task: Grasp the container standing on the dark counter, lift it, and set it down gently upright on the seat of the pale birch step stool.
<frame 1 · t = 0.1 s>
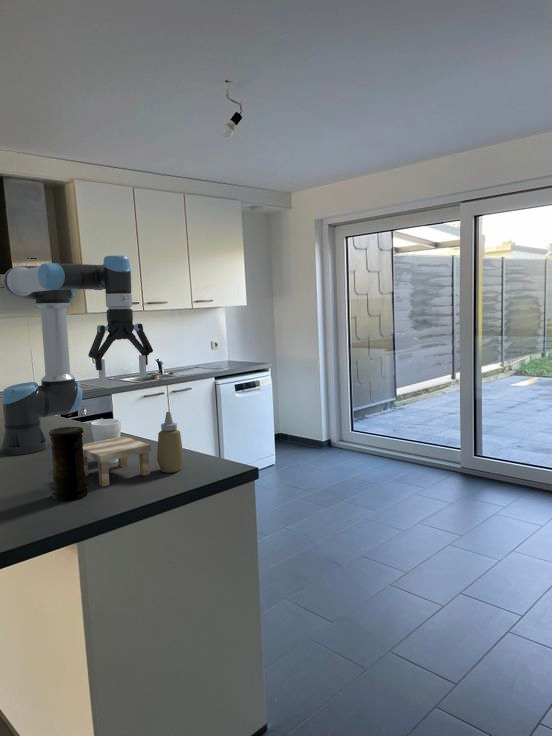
hand: (123, 378, 167), 28 cm above the countertop, fingers open, 13 cm apart
container: (70, 496, 147), on the countertop
stool: (114, 474, 164), on the countertop
squeeze bottle: (171, 470, 167), on the countertop
foam cup: (108, 461, 179), on the countertop
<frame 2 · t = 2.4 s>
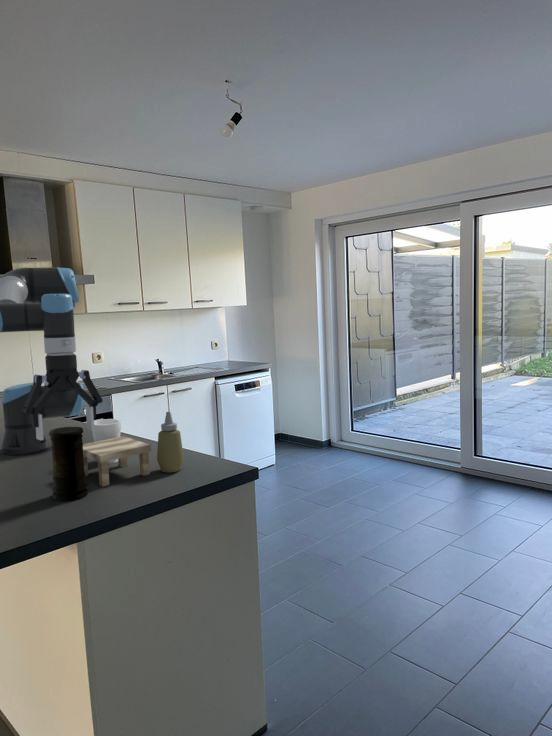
hand: (66, 434, 144), 17 cm above the countertop, fingers open, 13 cm apart
nothing on the countertop moved.
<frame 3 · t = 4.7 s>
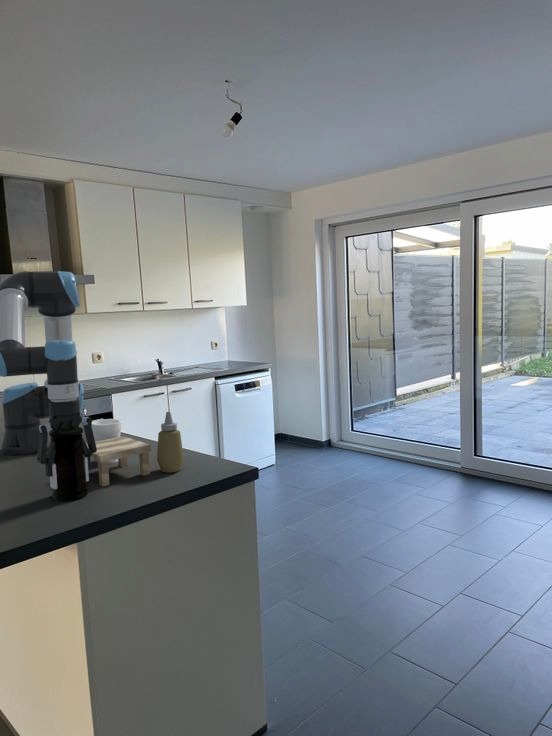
hand: (69, 483, 146), 3 cm above the countertop, fingers closed on container, 8 cm apart
container: (70, 496, 147), on the countertop, touching gripper
everything else where it was.
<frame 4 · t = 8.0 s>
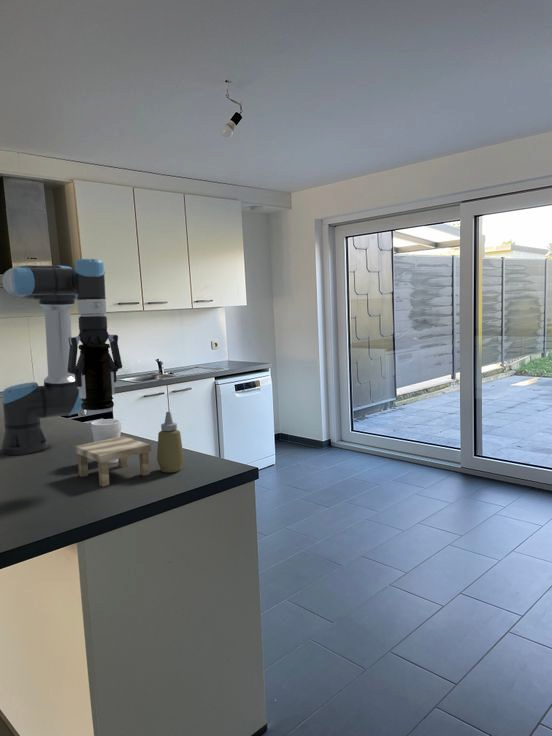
hand: (97, 395, 156), 25 cm above the countertop, fingers closed on container, 8 cm apart
container: (97, 408, 157), point 21 cm above the countertop, touching gripper
everything else where it was.
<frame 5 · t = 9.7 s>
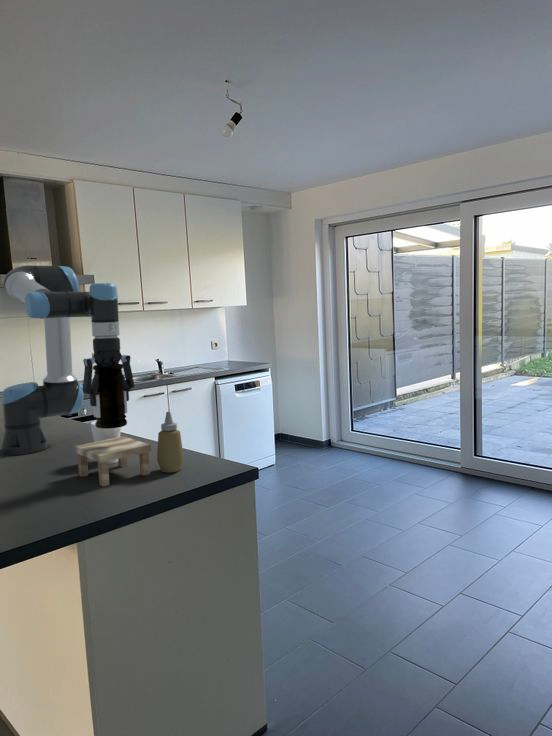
hand: (110, 414, 162), 18 cm above the countertop, fingers closed on container, 8 cm apart
container: (111, 426, 162), point 15 cm above the countertop, touching gripper
everything else where it was.
when the fingers open (14 cm above the countertop, at t = 11.3 s): container drops 2 cm, resting on stool.
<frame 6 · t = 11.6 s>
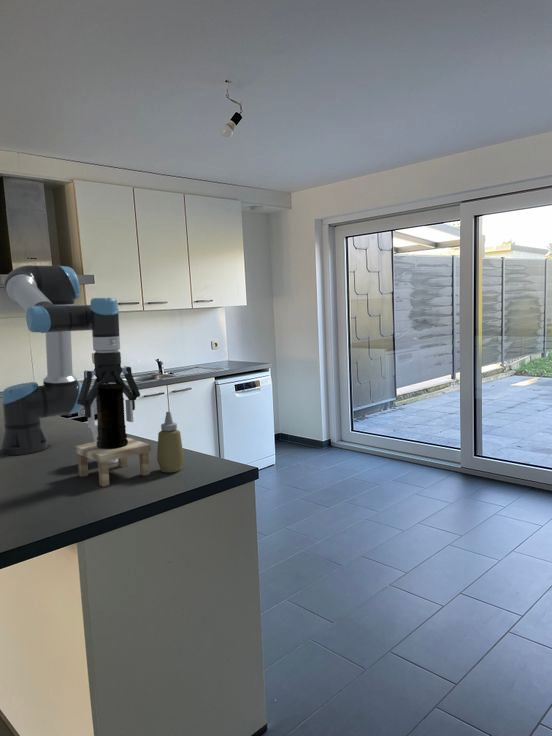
hand: (111, 424, 162), 15 cm above the countertop, fingers open, 11 cm apart
container: (112, 445, 163), point 9 cm above the countertop, touching stool
everything else where it was.
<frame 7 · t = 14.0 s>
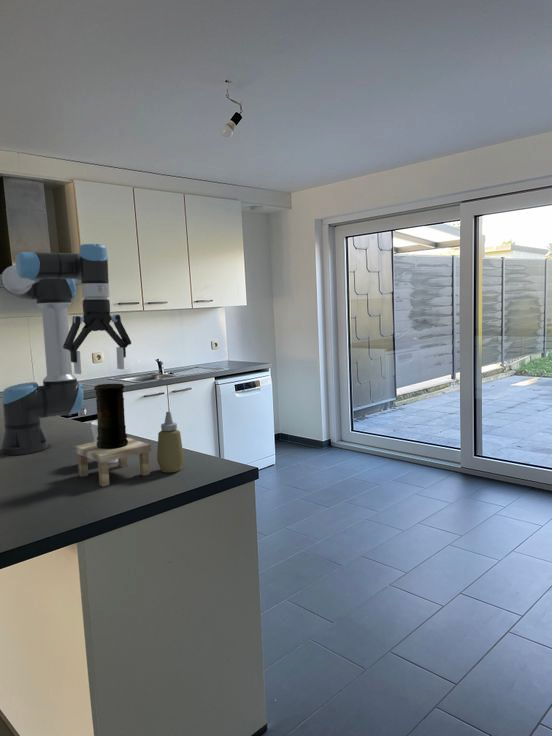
hand: (99, 371, 162), 31 cm above the countertop, fingers open, 13 cm apart
nothing on the countertop moved.
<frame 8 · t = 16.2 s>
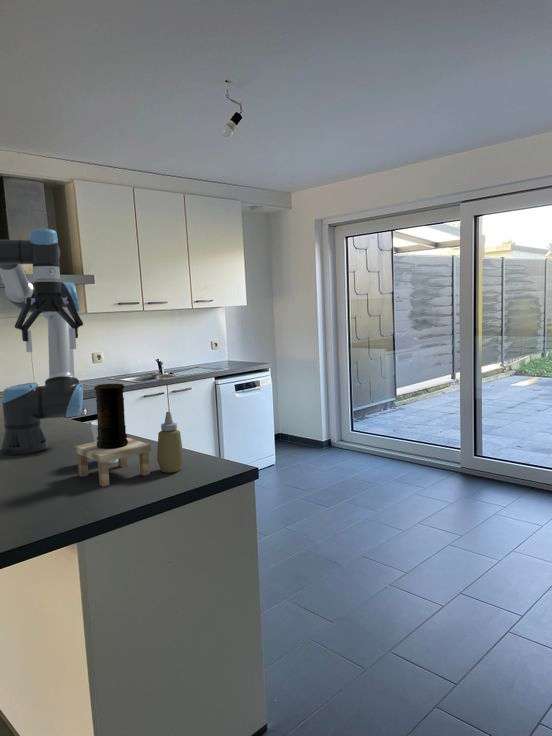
hand: (51, 350, 171), 37 cm above the countertop, fingers open, 13 cm apart
nothing on the countertop moved.
at the end: container inside the target area on the stool (0.0 cm from its centre), point 8.8 cm above the stool's base; container tilted 0°; the gripper is holding nothing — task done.
